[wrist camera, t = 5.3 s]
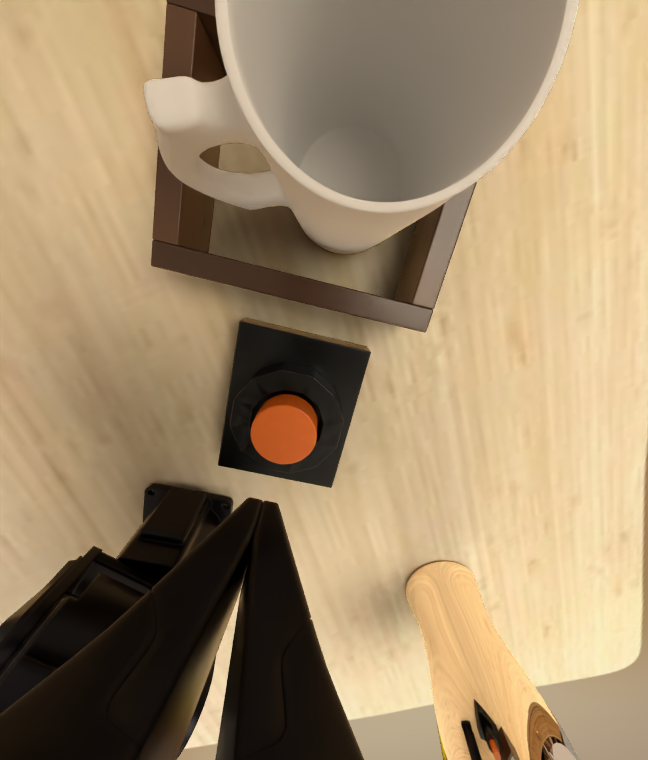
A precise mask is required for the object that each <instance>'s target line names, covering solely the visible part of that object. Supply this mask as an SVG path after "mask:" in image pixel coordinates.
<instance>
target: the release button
mask: <svg viewBox="0 0 648 760" xmlns="http://www.w3.org/2000/svg"><path fill="white" fill-rule="evenodd" d="M251 440H252V443H253V445H254V447H255V449H256V450H257V452H258V453H259V454H260V455H261V456H262V457H264V458H265V459H267V460H269V461H271V462H274V463H277V464H292V463H296V462H298V461H301V460H302V459H304V458H305V457H307V456H308V455H309V454H310V453H311V451H312V450H313V448H314V446H315V444H316V440H317V416H316V413H315V411H314V409H313V408H312V406H311V405H310V404H309V403H308V402H307V401H305V400H304V399H302V398H300V397H298V396H295V395H290V394H281V395H277V396H274V397H272V398H270V399H268V400H267V401H266V402H265V403H264V404H263V405H262V406H261V408H260V409H259V411H258V413H257V415H256V417H255V419H254V421H253V423H252V426H251Z"/></svg>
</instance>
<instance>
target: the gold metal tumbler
mask: <svg viewBox="0 0 648 760" xmlns="http://www.w3.org/2000/svg"><path fill="white" fill-rule="evenodd" d="M406 597H407V600H408V603H409V605H410V607H411V610H412V612H413V614H414V616H415V618H416V620H417V622H418V625H419V627H420V630H421V633H422V636H423V639H424V643H425V647H426V652H427V658H428V664H429V670H430V678H431V685H432V693H433V700H434V707H435V713H436V721H437V727H438V732H439V738H440V744H441V749H442V755H443V760H580V759H579V758H578V756H577V754H576V752H575V751H574V749H573V747H572V745H571V743H570V742H569V740H568V738H567V737H566V735H565V733H564V731H563V729H562V728H561V726H560V725H559V723H558V722H557V720H556V718H555V717H554V715H553V714H552V712H551V711H550V709H549V708H548V706H547V704H546V703H545V701H544V700H543V698H542V697H541V695H540V694H539V692H538V691H537V690H536V688H535V686H534V685H533V683H532V682H531V681H530V679H529V678H528V676H527V675H526V673H525V672H524V670H523V669H522V667H521V666H520V665H519V663H518V662H517V660H516V659H515V657H514V656H513V655H512V653H511V652H510V650H509V649H508V647H507V646H506V644H505V643H504V641H503V640H502V638H501V637H500V635H499V634H498V632H497V630H496V629H495V627H494V625H493V623H492V621H491V619H490V617H489V615H488V613H487V611H486V608H485V606H484V603H483V600H482V597H481V594H480V590H479V587H478V584H477V582H476V579H475V577H474V575H473V574H472V573H471V571H470V570H469V569H467V568H466V567H465V566H463V565H461V564H458V563H455V562H449V561H440V562H434V563H430V564H427V565H425V566H423V567H421V568H420V569H418V570H417V571H416V572H415V573H413V575H412V576H411V577H410V578H409V580H408V582H407V585H406Z"/></svg>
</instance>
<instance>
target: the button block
mask: <svg viewBox="0 0 648 760" xmlns="http://www.w3.org/2000/svg"><path fill="white" fill-rule="evenodd" d="M370 353H371V352H370V350H369V349H368V348H367V347H366V346H362V345H358V344H354V343H350V342H345V341H341V340H337V339H333V338H329V337H324V336H320V335H316V334H312V333H307V332H303V331H299V330H295V329H290V328H286V327H282V326H278V325H274V324H269V323H265V322H261V321H257V320H252V319H248V318H246V319H244V320H242V321H240V323H239V329H238V336H237V342H236V349H235V356H234V362H233V369H232V375H231V382H230V389H229V395H228V402H227V409H226V415H225V422H224V428H223V435H222V442H221V448H220V455H219V461H218V465H219V466H224V467H229V468H234V469H239V470H244V471H249V472H254V473H259V474H265V475H270V476H275V477H280V478H285V479H290V480H295V481H300V482H305V483H310V484H315V485H320V486H325V487H330V488H331V487H332V485H333V481H334V478H335V474H336V471H337V467H338V464H339V460H340V457H341V453H342V450H343V447H344V443H345V440H346V436H347V433H348V429H349V426H350V422H351V419H352V416H353V412H354V409H355V405H356V402H357V398H358V395H359V391H360V388H361V384H362V381H363V378H364V374H365V371H366V367H367V364H368V360H369V357H370ZM281 394H290V395H295V396H298V397H300V398H302V399H304V400H305V401H307V402H308V403H309V404H310V405H311V406H312V408H313V409H314V411H315V413H316V416H317V440H316V444H315V446H314V448H313V450H312V451H311V453H310V454H309V455H308V456H307V457H305V458H304V459H302V460H301V461H298V462H296V463H292V464H277V463H274V462H271V461H269V460H267V459H265V458H264V457H262V456H261V455H260V454H259V453H258V452H257V450H256V449H255V447H254V445H253V443H252V440H251V426H252V423H253V421H254V419H255V417H256V415H257V413H258V411H259V409H260V408H261V406H262V405H263V404H264V403H265V402H266V401H267V400H268V399H270V398H272V397H274V396H277V395H281Z"/></svg>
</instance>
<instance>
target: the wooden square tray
mask: <svg viewBox="0 0 648 760" xmlns="http://www.w3.org/2000/svg"><path fill="white" fill-rule="evenodd" d="M179 76H186V77H190V78H193V79H194V80H196V81H199V82H202V83H204V82H213V81H216V80H219V79H222V78H224V77H225V76H227V73H226V70H225V67H224V63H223V59H222V55H221V51H220V45H219V40H218V33H217V25H216V15H215V0H167V8H166V25H165V41H164V58H163V74H162V79H164V78H171V77H179ZM219 153H220V145H218V146H214V147H211V148H208V149H206V150H205V151H203V152H202V153H201V154H200V155H199V157H200V158H201V159H202V160H203V161H204V162H206V163H207V164H209V165H211V166H213V167H215V168H217V169H218V162H219ZM476 183H477V182H475V183H474V184H472V185H471V186H470V187H468V188H466V189H465V190H463V191H462V192H460V193H458V194H456V195H454V196H453V197H452V198H450V199H449V200H448V201H446V202H445V203H444V204H442V205H441V206H439V207H438V208H437V209H435V210H433V211H432V212H430V213H429V214H427V215H425V216H424V217H422V218H420V219H419V220H417V224H416V227H415V230H414V234H413V237H412V241H411V244H410V247H409V251H408V254H407V257H406V261H405V264H404V267H403V271H402V274H401V277H400V281H399V284H398V288H397V291H396V294H395V298H394V300H393V299H389V298H385V297H381V296H377V295H373V294H369V293H365V292H361V291H357V290H353V289H349V288H345V287H341V286H337V285H333V284H329V283H325V282H321V281H317V280H313V279H309V278H305V277H301V276H297V275H293V274H289V273H285V272H281V271H277V270H273V269H269V268H265V267H261V266H257V265H253V264H249V263H245V262H241V261H237V260H233V259H229V258H225V257H221V256H217V255H213V254H209V253H208V251H209V242H210V233H211V224H212V215H213V206H214V198H213V197H210V196H208V195H205V194H203V193H201V192H199V191H197V190H195V189H193V188H191V187H189V186H188V185H186V184H184V183H183V182H181V181H180V180H179V179H178V178H176V177H175V176H174V175H173V174H172V173H171V171H170V170H169V169H168V168H167V166H166V164H165V162H164V160H163V158H162V156H161V153H160V150H159V146H158V157H157V174H156V190H155V207H154V224H153V239H154V240H153V242H152V259H151V265H152V266H154V267H158V268H162V269H166V270H170V271H174V272H178V273H182V274H186V275H191V276H195V277H199V278H203V279H207V280H211V281H215V282H219V283H223V284H228V285H232V286H236V287H240V288H244V289H248V290H252V291H256V292H260V293H264V294H269V295H273V296H277V297H281V298H285V299H289V300H293V301H297V302H301V303H306V304H310V305H314V306H318V307H322V308H326V309H330V310H334V311H338V312H342V313H347V314H351V315H355V316H359V317H363V318H367V319H371V320H375V321H379V322H384V323H388V324H392V325H396V326H400V327H404V328H408V329H412V330H416V331H420V332H426V330H427V327H428V324H429V321H430V319H431V316H432V313H433V310H432V309H434V307H435V304H436V301H437V298H438V295H439V292H440V289H441V286H442V283H443V280H444V277H445V274H446V271H447V268H448V265H449V262H450V259H451V256H452V253H453V250H454V248H455V245H456V242H457V239H458V236H459V233H460V230H461V227H462V224H463V221H464V218H465V215H466V212H467V209H468V206H469V203H470V200H471V197H472V194H473V191H474V189H475V186H476Z"/></svg>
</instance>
